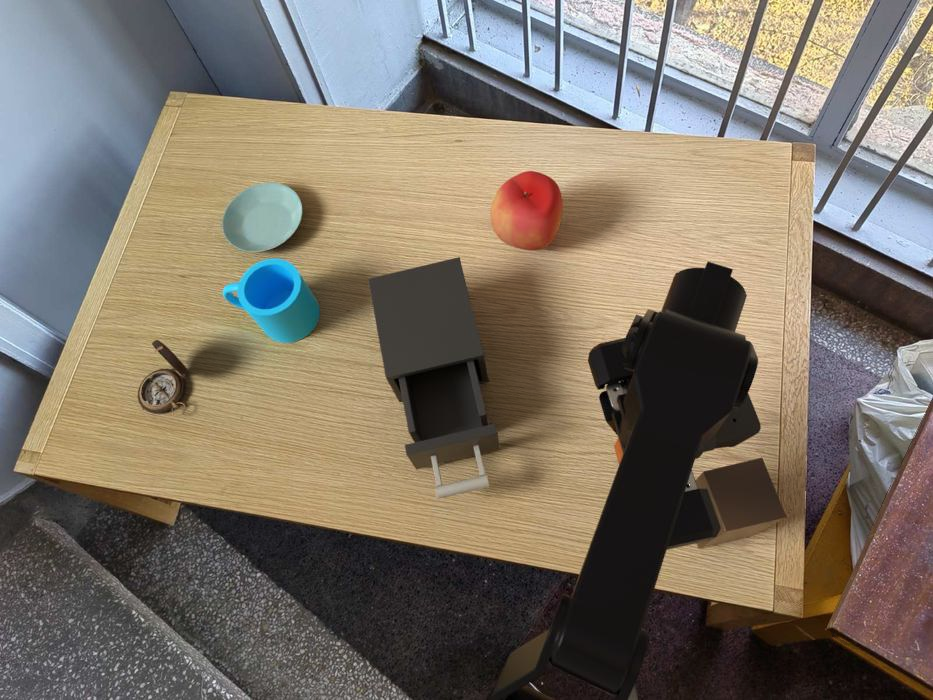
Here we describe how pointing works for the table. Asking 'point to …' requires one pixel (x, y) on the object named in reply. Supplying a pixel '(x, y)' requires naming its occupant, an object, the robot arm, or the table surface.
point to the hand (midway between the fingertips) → (636, 462)
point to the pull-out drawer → (448, 423)
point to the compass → (164, 384)
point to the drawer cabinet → (425, 321)
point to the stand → (741, 500)
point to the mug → (276, 300)
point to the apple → (527, 211)
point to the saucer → (262, 217)
